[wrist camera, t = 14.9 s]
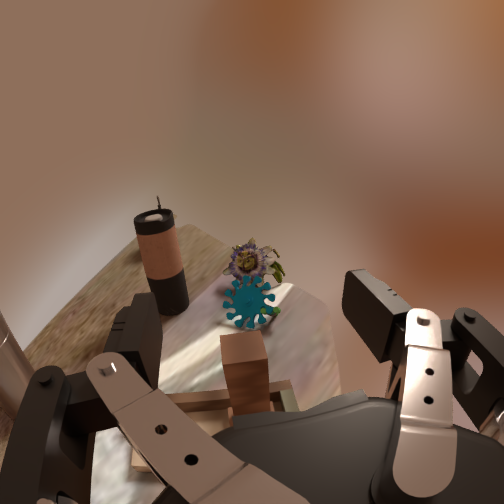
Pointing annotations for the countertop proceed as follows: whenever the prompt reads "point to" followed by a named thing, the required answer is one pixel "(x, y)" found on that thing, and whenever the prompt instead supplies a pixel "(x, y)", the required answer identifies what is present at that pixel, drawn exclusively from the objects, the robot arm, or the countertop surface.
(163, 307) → the travel mug
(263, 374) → the panel
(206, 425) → the board
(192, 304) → the countertop surface
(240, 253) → the passion flower
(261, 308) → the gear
